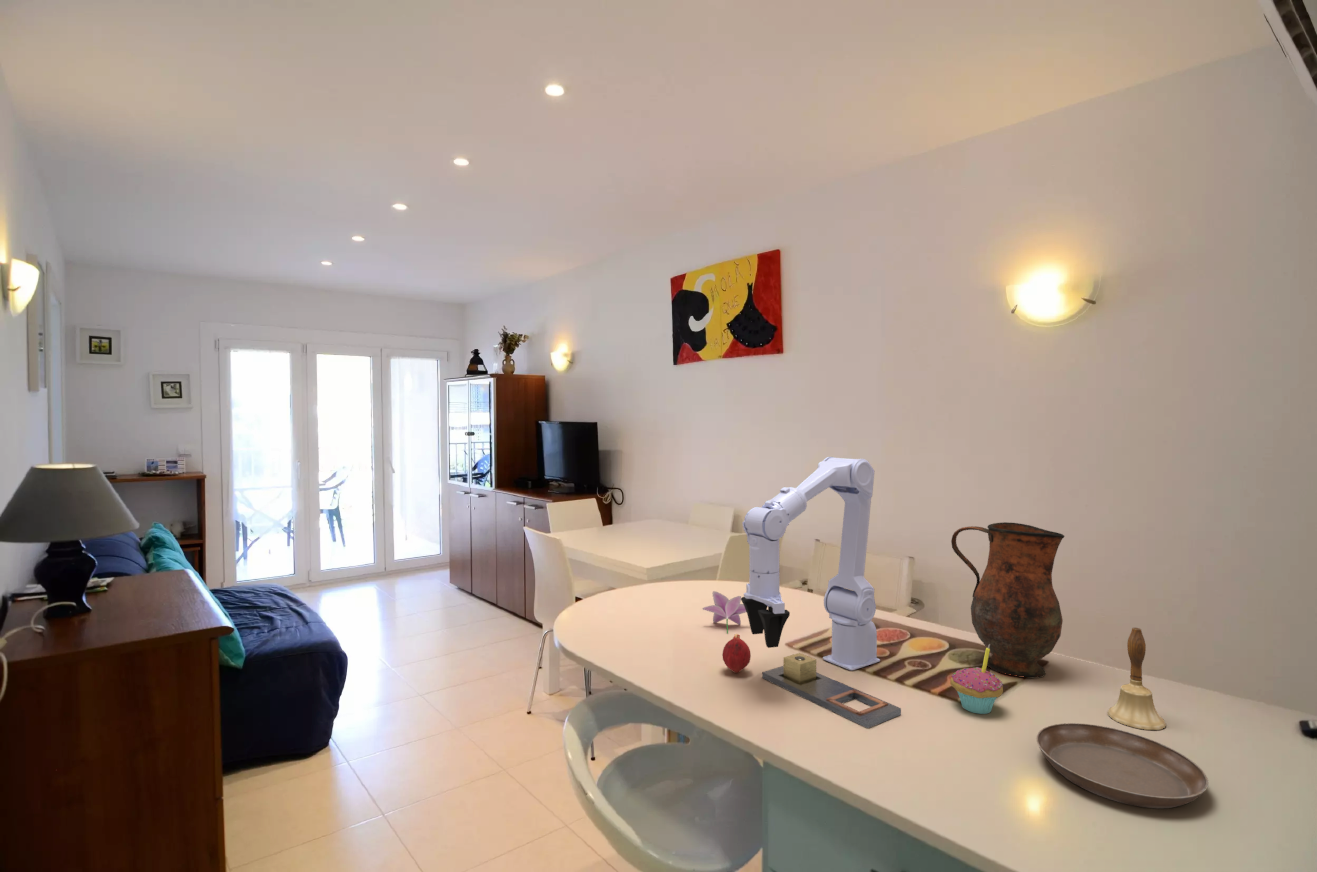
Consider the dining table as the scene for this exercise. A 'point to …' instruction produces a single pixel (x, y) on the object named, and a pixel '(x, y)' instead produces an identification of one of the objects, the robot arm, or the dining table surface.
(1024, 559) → the pitcher
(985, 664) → the cupcake
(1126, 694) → the hand bell
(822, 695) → the rail
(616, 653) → the dining table surface
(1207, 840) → the dining table surface
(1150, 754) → the plant saucer
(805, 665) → the brass cube with hole
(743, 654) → the pomegranate
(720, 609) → the lily
